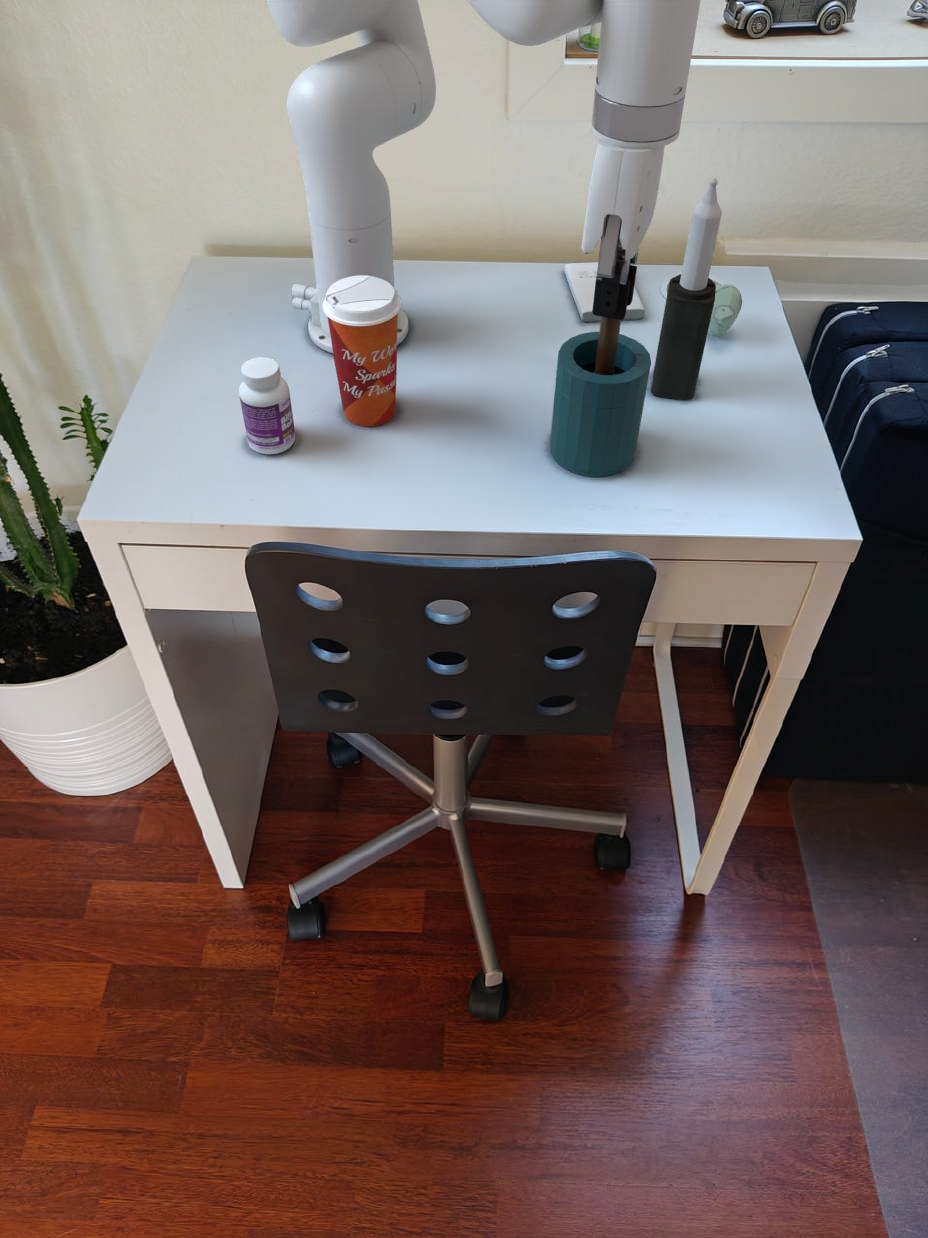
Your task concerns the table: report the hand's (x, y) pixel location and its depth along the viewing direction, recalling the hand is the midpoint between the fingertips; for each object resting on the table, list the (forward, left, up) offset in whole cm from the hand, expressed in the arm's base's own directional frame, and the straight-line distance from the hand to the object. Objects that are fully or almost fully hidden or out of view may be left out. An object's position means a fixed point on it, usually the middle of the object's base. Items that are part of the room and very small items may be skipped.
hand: (612, 307), depth 98 cm
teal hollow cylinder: (0, 0, -18) cm, 18 cm away
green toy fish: (+9, +28, -18) cm, 34 cm away
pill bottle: (-34, -11, -18) cm, 40 cm away
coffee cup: (-26, -2, -18) cm, 32 cm away
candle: (+6, +15, -18) cm, 24 cm away
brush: (0, 0, -14) cm, 14 cm away
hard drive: (-7, +32, -18) cm, 37 cm away
